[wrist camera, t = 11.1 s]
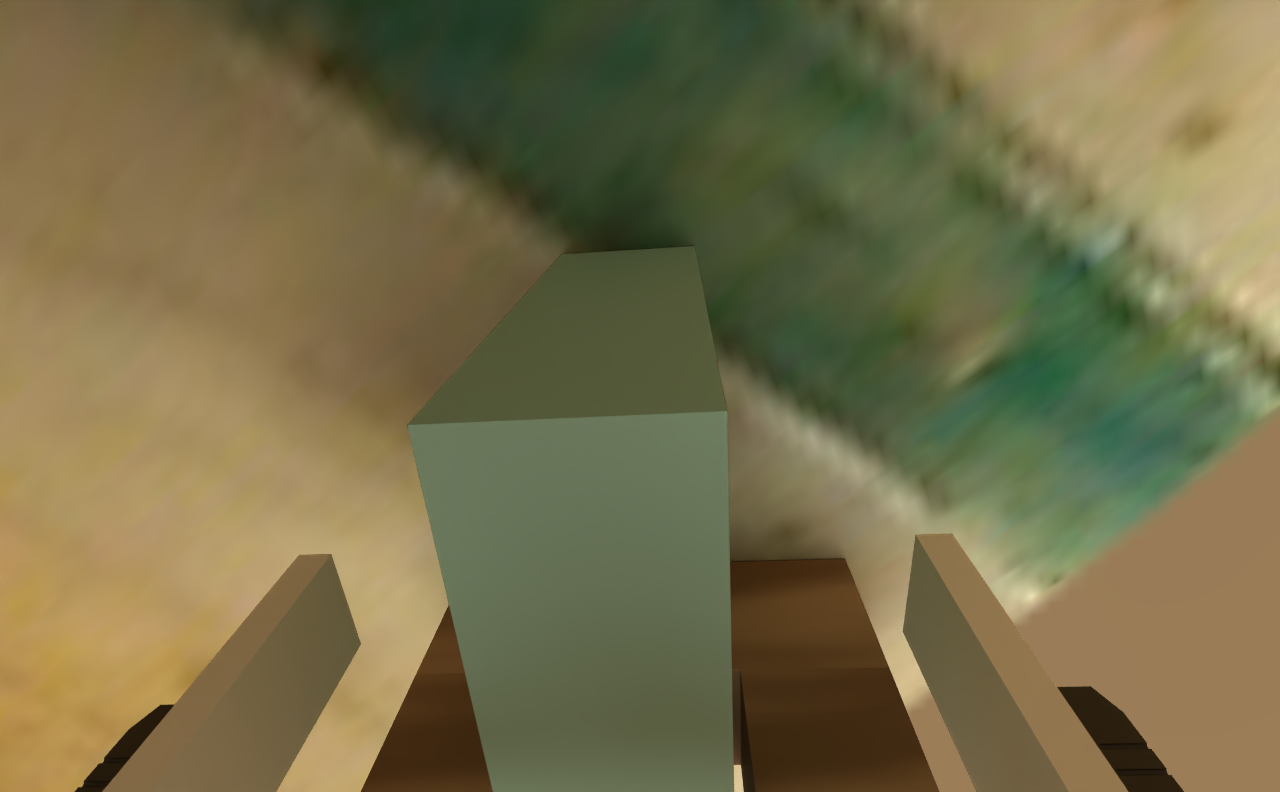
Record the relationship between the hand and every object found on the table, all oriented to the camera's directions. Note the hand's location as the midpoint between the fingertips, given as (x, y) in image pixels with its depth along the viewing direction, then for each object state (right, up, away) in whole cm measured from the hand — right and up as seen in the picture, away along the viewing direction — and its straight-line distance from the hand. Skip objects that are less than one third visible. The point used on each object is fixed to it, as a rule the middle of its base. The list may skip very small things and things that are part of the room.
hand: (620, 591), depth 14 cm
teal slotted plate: (+1, +1, +8) cm, 8 cm away
